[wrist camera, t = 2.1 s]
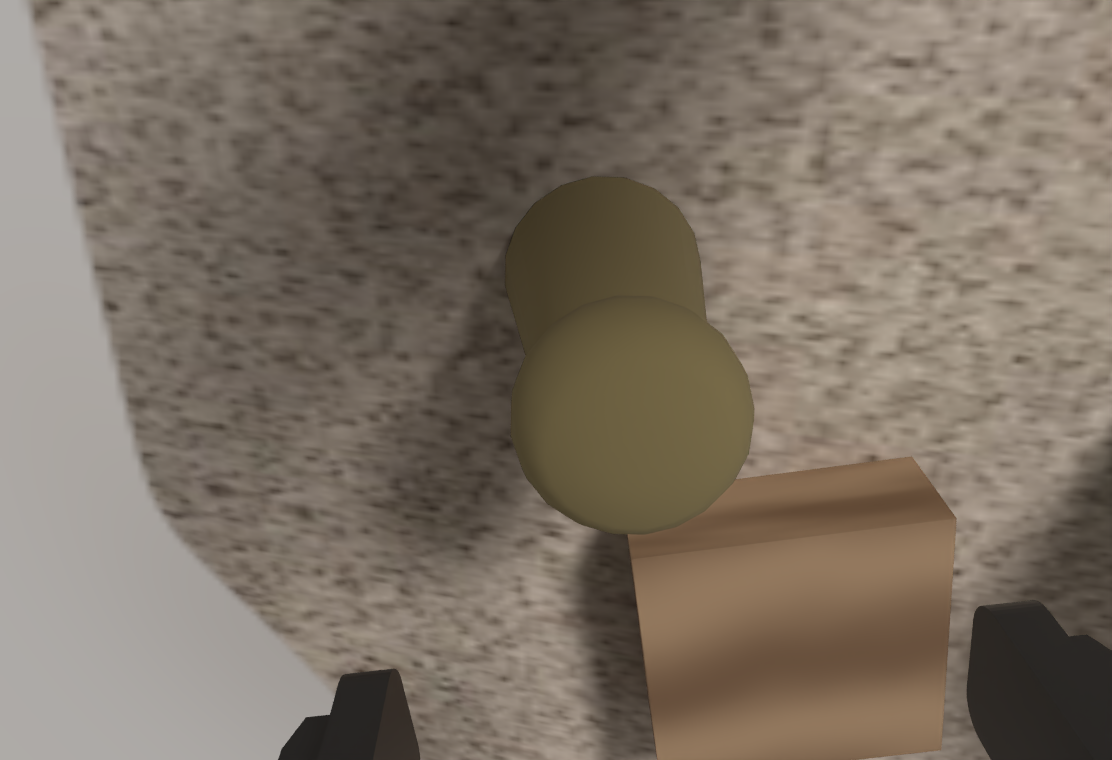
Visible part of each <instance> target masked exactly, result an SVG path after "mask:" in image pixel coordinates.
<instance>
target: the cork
mask: <svg viewBox="0 0 1112 760" xmlns="http://www.w3.org/2000/svg"><path fill="white" fill-rule="evenodd" d="M505 287H506V290H507V294H508V297H509V301H510V304H511V307H512V311H513V314H514V317H515V321H516V324H517V328H518V331H519V334H520V338H521V341H522V345H523V348H524V351H525V355H526V357H525V358H524V361H523V364H522V366H521V369H520V371H519V374H518V377H517V379H516V382H515V384H514V387H513V389H512V400H511V438H512V441H513V444H514V447H515V450H516V453H517V455H518V458H519V461H520V464H521V467H522V469H523V471H524V473H525V476H526V478H527V479H528V481H529V482H530V483H531V484H532V486H533V487H534V488H535V489H536V490H537V492H538V493H539V494H540V495H541V497H542V498H543V499H544V500H545V502H546V503H547V504H548V505H550V506H551V507H553V508H555V509H556V510H558V511H559V512H561V513H562V514H564V515H565V516H567V517H569V518H570V519H572V520H573V521H575V522H577V523H579V524H581V525H584V526H587V527H591V528H594V529H597V530H601V531H604V532H608V533H611V534H636V535H646V534H650V533H654V532H658V531H662V530H666V529H670V528H675V527H677V526H679V525H681V524H683V523H685V522H686V521H688V520H690V519H692V518H694V517H696V516H697V515H699V514H701V513H703V512H705V511H706V510H707V509H708V508H709V507H710V506H711V505H712V504H713V503H714V502H715V501H716V500H717V499H718V498H719V497H720V496H721V495H722V494H723V493H724V492H725V491H726V490H727V489H728V488H729V487H730V486H731V485H732V484H733V482H734V481H735V479H736V477H737V475H738V473H739V471H740V469H741V467H742V465H743V464H744V462H745V460H746V458H747V456H748V454H749V449H750V442H751V436H752V429H753V423H754V404H753V400H752V395H751V390H750V385H749V381H748V376H747V373H746V372H745V370H744V368H743V366H742V364H741V362H740V361H739V359H738V358H737V356H736V354H735V353H734V351H733V350H732V348H731V347H730V345H729V344H728V342H727V340H726V339H725V337H724V336H723V334H722V333H720V332H719V331H718V330H716V329H715V328H714V327H712V326H711V325H710V324H709V323H707V319H706V310H705V300H704V290H703V281H702V271H701V262H700V257H699V253H698V248H697V244H696V239H695V235H694V232H693V231H692V229H691V227H690V226H689V224H688V223H687V221H686V219H685V218H684V216H683V215H682V213H681V211H680V210H679V208H678V207H677V206H675V205H674V204H673V203H672V202H670V201H669V200H668V199H667V198H666V197H664V196H663V195H662V194H661V193H659V192H658V191H657V190H656V189H654V188H652V187H649V186H646V185H644V184H641V183H638V182H635V181H633V180H630V179H627V178H623V177H589V178H586V179H582V180H579V181H575V182H572V183H568V184H565V185H561V186H560V187H558V188H557V189H555V190H554V191H552V192H551V193H549V194H548V195H546V196H545V197H543V198H542V199H540V200H539V201H537V202H536V203H535V204H534V205H533V206H532V207H531V209H530V210H529V211H528V213H527V214H526V215H525V216H524V218H523V219H522V220H521V222H520V223H519V224H518V225H517V227H516V228H515V231H514V234H513V237H512V239H511V242H510V245H509V248H508V251H507V253H506V256H505Z"/></svg>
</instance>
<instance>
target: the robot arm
mask: <svg viewBox="0 0 1112 760" xmlns="http://www.w3.org/2000/svg"><path fill="white" fill-rule="evenodd" d="M967 701H968V707H969V712H970V716H971V720H972V723H973V726H974V728H975V731H976V733H977V735H978V737H979V739H980V741H981V743H982V744H983V746H984V748H985V750H986V752H987V753H988V755H989V757H990V759H991V760H1112V651H1111V650H1109V649H1108V648H1106V647H1105V646H1103V645H1102V644H1100V643H1099V642H1097V641H1096V640H1094V639H1093V638H1091V637H1090V636H1088V635H1079V636H1070V637H1069V636H1068V635H1067V634H1066V633H1065V631H1064V630H1063V629H1062V627H1061V626H1060V625H1059V624H1058V622H1057V621H1056V620H1055V619H1054V617H1053V616H1052V615H1051V613H1050V612H1049V611H1048V610H1047V608H1046V607H1045V606H1044V605H1043V604H1041V603H1040V602H1038V601H1035V600H1032V601H1023V602H1014V603H1004V604H995V605H986V606H980V607H978V608H977V609H976V611H975V614H974V619H973V629H972V640H971V650H970V660H969V670H968V681H967ZM278 760H420V753H419V747H418V743H417V739H416V735H415V731H414V727H413V723H412V719H411V715H410V711H409V708H408V704H407V700H406V696H405V692H404V688H403V684H402V680H401V677H400V674H399V672H398V671H397V670H396V669H387V670H378V671H369V672H360V673H351V674H344V675H343V676H342V677H341V678H340V681H339V683H338V687H337V691H336V694H335V698H334V702H333V706H332V710H331V713H330V715H325V716H315V717H306V718H305V720H304V721H303V722H302V723H301V725H300V726H299V727H298V729H297V730H296V731H295V733H294V734H293V735H292V736H291V738H290V739H289V740H288V742H287V743H286V744H285V746H284V747H283V748H282V750H281V753H280V756H279V759H278Z"/></svg>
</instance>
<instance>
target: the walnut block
mask: <svg viewBox="0 0 1112 760" xmlns="http://www.w3.org/2000/svg"><path fill="white" fill-rule="evenodd" d="M956 519H957V518H956V517H955V516H954V514H953V513H952V511H951V510H950V509H949V507H948V506H947V505H946V503H945V502H944V500H943V499H942V498H941V496H940V495H939V493H938V492H937V491H936V489H935V488H934V487H933V485H932V484H931V482H930V481H929V480H928V478H927V477H926V475H925V474H924V473H923V471H922V470H921V469H920V467H919V466H918V464H917V463H916V462H915V460H914V459H913V457H905V458H897V459H889V460H882V461H874V462H866V463H859V464H851V465H843V466H835V467H828V468H820V469H812V470H805V471H797V472H789V473H782V474H774V475H766V476H758V477H751V478H743V479H735V481H734V482H733V484H732V485H731V486H730V487H729V488H728V489H727V490H726V491H725V492H724V493H723V494H722V495H721V496H720V497H719V498H718V499H717V500H716V501H715V502H714V503H713V504H712V505H711V506H710V507H709V508H708V509H707V510H706V511H705V512H703V513H701V514H699V515H697V516H696V517H694V518H692V519H690V520H688V521H686V522H685V523H683V524H681V525H679V526H677V527H675V528H670V529H666V530H662V531H658V532H654V533H650V534H646V535H636V534H627V538H628V546H629V553H630V561H631V569H632V576H633V584H634V592H635V599H636V607H637V615H638V623H639V630H640V638H641V646H642V653H643V661H644V669H645V676H646V684H647V692H648V699H649V707H650V714H651V721H652V728H653V735H654V741H655V748H656V755H657V760H858V759H867V758H876V757H884V756H893V755H902V754H911V753H920V752H928V751H937V750H941V745H942V730H943V715H944V700H945V685H946V670H947V655H948V639H949V624H950V609H951V594H952V579H953V564H954V549H955V534H956Z"/></svg>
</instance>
